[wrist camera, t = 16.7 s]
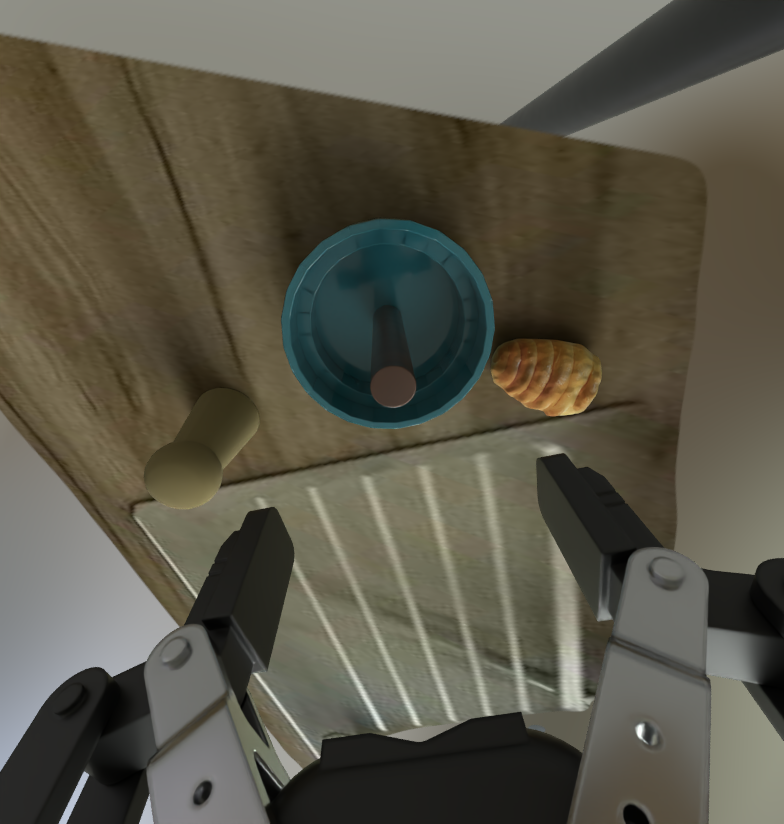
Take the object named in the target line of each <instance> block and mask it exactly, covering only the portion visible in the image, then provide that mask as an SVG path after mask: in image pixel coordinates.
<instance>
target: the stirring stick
mask: <svg viewBox="0 0 784 824" xmlns="http://www.w3.org/2000/svg"><path fill="white" fill-rule="evenodd" d="M370 390H371V393H372V396H373V397H374V399H375V400H376V401H377V402H378V403H380V404H381V405H383V406H386V407H392V408H393V407H400V406H403V405H405V404H406V403H408V402H409V401H410V400H411V399H412V398H413V396H414V394H415V392H416V380H415V375H414V371H413V366H412V362H411V357H410V353H409V348H408V344H407V339H406V335H405V330H404V326H403V321H402V317H401V314H400V312H399V311H398V310H397V309H396V308H395V307H393V306H389V305H386V306H382V307H380V308H379V309H377V310H376V312H375V314H374V317H373V334H372V357H371V380H370Z"/></svg>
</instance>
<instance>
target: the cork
mask: <svg viewBox="0 0 784 824" xmlns="http://www.w3.org/2000/svg"><path fill="white" fill-rule="evenodd" d="M259 423H260V421H259V413H258V411H257V409H256V407H255V405H254V404H253V403H252V401H251V400H250V399H249V398H248V397H246V396H245V395H243V394H242V393H240V392H238V391H235V390H232V389H229V388H215V389H211V390H208V391H207V392H205V393H204V394H202V395H201V396H200V398H199V399H198V401H197V402H196V404H195V405H194V407H193V409H192V411H191V412H190V414H189V416H188V417H187V419H186V421H185V423H184V424H183V426H182V428H181V430H180V431H179V433H178V435H177V436H176V438H175V440H174V442H172V443H169V444H167V445H165V446H163V447H162V448H160V449H159V450H157V451H156V452H155V453H154V454H153V455H152V456H151V458H150V459H149V461H148V462H147V464H146V467H145V471H144V481H145V485H146V488H147V490H148V491H149V493H150V494H151V496H152V497H153V498H155V499H156V500H157V501H158V502H160V503H162V504H164V505H166V506H168V507H172V508H175V509H191V508H195V507H198V506H201V505H203V504H204V503H206V502H208V501H209V500H210V499H211V498H212V497H213V496H214V495H215V493H216V492H217V491H218V489H219V487H220V485H221V481H222V476H223V469H224V468H225V467H226V466H227V464H228V463H229V462H230V461H231V460H232V459H233V458H234V457H235V455H236V454H237V453H238V452H239V451H240V450H241V449H242V448H243V446H244V445H245V444H246V443H247V442H248V441H249V440H250V439H251V438H252V436H253V435H254V434H255V433H256V431H257V430H258V426H259Z"/></svg>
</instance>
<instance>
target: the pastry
mask: <svg viewBox="0 0 784 824" xmlns="http://www.w3.org/2000/svg"><path fill="white" fill-rule="evenodd" d="M491 374H492V377H493V381H494V383H495V384H497V385H498V386H499V387H501V388H502V389H504V391H505V392H506V393H507V394H508V395H509V396H512V397H514V398H515V399H516V400H518V401H520V402H522V404H523V405H524V406H525V407H528V408H531V409H537V410H542V411H544V412H545V414H546V415H548V416H558V415H561V416H562V415H571V414H574V413H580V412H582V411H583V410H585V409H586V407H587V406H588V405H589V404H590V403H591V401H592V400H593V398H594V397H595V396H596V394H597V392H598V386H599V383H600V382H601V377H602V370H601V363H600V360H599V358H598V357H597V356H595V355H593V354H592V353H590V352H589V350H588V349H586V348H585V347H584V346H583V345H580V344H575V343H570V342H564V341H560V340H549V339H515V340H512V341H508V342H505V343H503V344H501V345H500V346H498V347H497V349H496V351H495V352H494V354H493V356H492V359H491Z"/></svg>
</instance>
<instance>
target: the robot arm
mask: <svg viewBox="0 0 784 824" xmlns="http://www.w3.org/2000/svg"><path fill="white" fill-rule="evenodd" d="M536 469H537V492H538V503H539V507H540V511H541V514H542V516H543V518H544V520H545V522H546V524H547V526H548V528H549V530H550V532H551V534H552V536H553V537H554V539H555V541H556V543H557V545H558V547H559V549H560V551H561V553H562V554H563V556H564V558H565V560H566V562H567V564H568V566H569V568H570V569H571V571H572V573H573V575H574V577H575V579H576V581H577V583H578V585H579V586H580V588H581V590H582V592H583V594H584V596H585V598H586V600H587V602H588V603H589V605H590V607H591V609H592V611H593V613H594V615H595V617H596V618H597V620H598V621H603V620H609V619H613V620H614V626H613V631H612V635H611V637H609V640H608V643H607V647H606V651H605V655H604V660H603V664H602V669H601V673H600V678H599V682H598V687H597V691H596V696H595V700H594V705H593V709H592V714H591V718H590V722H589V727H588V731H587V736H586V740H585V745H584V750H583V753H581V752H580V751H579V750H577V749H576V748H574V747H573V746H571V745H569V744H568V743H566V742H564V741H562V740H561V739H558V738H556V737H554V736H552V735H550V734H547V733H544V732H541V731H538V730H533V729H528V728H526V727H525V723H524V720H523V717H522V713H521V712H516V713H509V714H502V715H495V716H487V717H480V718H473V719H470V720H468V721H465V722H463V723H461V724H459V725H457V726H455V727H453V728H451V729H449V730H447V731H445V732H443V733H441V734H439V735H437V736H435V737H433V738H430V739H428V740H427V741H423V742H414V741H409V740H403V739H398V738H392V737H388V736H382V735H377V734H372V733H367V734H360V735H353V736H346V737H338V738H331V739H324V740H322V748H321V757H320V759H318V760H316V761H314V762H313V763H311V764H310V765H308V766H307V767H305V768H304V769H303V770H301V771H300V772H299V773H298V774H297V775H295V776H294V777H293V778H292V779H291V780H290V778H289V776H288V774H287V773H286V771H285V769H284V767H283V766H282V764H281V762H280V760H279V758H278V756H277V754H276V752H275V749H274V747H273V745H272V742H271V740H270V738H269V735H268V733H267V731H266V728H265V726H264V724H263V721H262V719H261V716H260V714H259V712H258V709H257V707H256V705H255V702H254V700H253V698H252V695H251V693H250V691H249V689H248V688H247V686H248V683H249V679H250V675H251V674H253V673H259V672H266V671H267V670H268V666H269V662H270V658H271V653H272V649H273V645H274V641H275V637H276V633H277V629H278V625H279V621H280V617H281V612H282V608H283V604H284V600H285V596H286V592H287V588H288V584H289V580H290V575H291V571H292V567H293V563H294V547H293V543H292V540H291V538H290V536H289V534H288V532H287V530H286V527H285V525H284V523H283V521H282V519H281V517H280V515H279V512H278V510H277V509H276V508H275V507H270V508H265V509H260V510H254V511H250V512H248V514H247V515H246V517H245V520H244V522H243V524H242V527H241V529H240V530H238V531H234V532H233V533H232V534H231V535H230V537H229V538H228V539H227V540H226V541H225V542H224V543H223V545H222V546H221V548H220V550H219V552H218V554H217V556H216V558H215V564H213V565H212V567H211V569H210V571H209V573H208V574H209V576H208V577H207V578H206V580H205V582H204V584H203V586H202V588H201V590H200V593H199V595H198V597H197V599H196V601H195V603H194V605H193V607H192V610H191V612H190V614H189V616H188V618H187V620H186V622H185V624H184V626H182V627H180V628H177V629H176V630H174V631H172V632H171V633H169V634H168V635H167V636H166V637H164V639H162V640H161V641H160V642H159V643H158V644H157V645H156V647H155V648H154V649H153V651H152V652H151V654H150V655H149V658H148V659H147V661H146V662H144V663H142V664H139V665H137V666H135V667H133V668H131V669H129V670H127V671H124V672H122V673H120V674H118V675H116V676H114V677H111V676H110V675H109V674H108V673H107V672H106V671H105V670H104V669H102V668H100V667H93V668H89V669H85V670H83V671H81V672H79V673H77V674H75V675H74V676H72V677H71V678H69V679H68V680H67V681H65V682H64V683H63V684H62V685H60V687H58V688H57V689H56V690H55V691H54V692H53V693H52V694H51V695H50V697H49V698H48V699H47V700H46V701H45V703H44V704H43V706H42V707H41V709H40V710H39V712H38V713H37V715H36V717H35V718H34V720H33V722H32V723H31V725H30V726H29V728H28V729H27V731H26V732H25V734H24V735H23V737H22V739H21V740H20V742H19V743H18V745H17V747H16V748H15V750H14V751H13V753H12V754H11V756H10V758H9V759H8V761H7V762H6V764H5V765H4V767H3V769H2V770H1V772H0V824H59V821H60V819H61V817H62V815H63V813H64V811H65V809H66V807H67V805H68V802H69V801H70V799H71V796H72V795H73V792H74V790H75V788H76V786H77V784H78V782H79V780H80V778H81V776H82V774H83V772H84V771H85V772H86V773H88V774H89V777H88V779H87V781H86V783H85V786H84V788H83V790H82V792H81V794H80V796H79V798H78V801H77V802H76V805H75V807H74V809H73V811H72V813H71V815H70V817H69V819H68V822H67V824H139V822H140V819H141V816H142V813H143V810H144V807H145V805H146V802H147V799H148V796H149V794H150V800H151V808H152V815H153V821H154V824H708V821H709V819H708V818H709V773H710V771H709V770H710V726H711V684H710V679H709V678H708V677H707V676H706V674H707V675H712V676H718V677H723V678H729V679H734V680H740V681H742V682H743V684H744V685H745V687H746V688H747V690H748V691H749V693H750V694H751V695H752V697H753V698H754V700H755V701H756V702H757V704H758V705H759V707H760V708H761V710H762V711H763V712H764V714H765V715H766V717H767V718H768V720H769V721H770V722H771V724H772V725H773V727H774V728H775V729H776V731H777V732H778V734H779V735H780V736H781V738H782V739H783V741H784V558H776V559H770V560H767V561H764V562H762V563H761V564H760V565H759V566H758V568H757V570H756V573H755V575H750V574H740V573H731V572H721V571H712V570H707V569H702V568H700V567H699V566H698V565H697V564H696V563H695V562H694V561H692V560H691V559H689V558H688V557H686V556H684V555H683V554H680V553H678V552H676V551H673V550H670V549H666V548H664V547H663V546H662V545H661V544H660V542H659V541H658V540H657V539H656V538H655V536H654V535H653V534H652V533H651V532H650V531H649V529H648V528H647V527H646V526H645V525H644V523H643V522H642V521H641V520H640V519H639V517H638V516H637V515H636V514H635V513H634V511H633V510H632V509H631V508H630V507H629V506H628V504H625V501H624V500H623V498H622V497H621V496H620V495H619V494H618V493H616V491H615V489H614V488H613V487H612V485H611V484H610V483H609V482H608V481H607V479H606V478H605V477H604V476H602V475H600V474H599V473H597V472H595V471H594V470H592V469H590V468H588V467H584V468H579V469H577V468H576V467H575V466H574V464H573V463H572V462H571V461H570V459H569V458H568V457H567V455H566V454H564V453H561V454H556V455H551V456H546V457H540V458H537V461H536Z"/></svg>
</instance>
